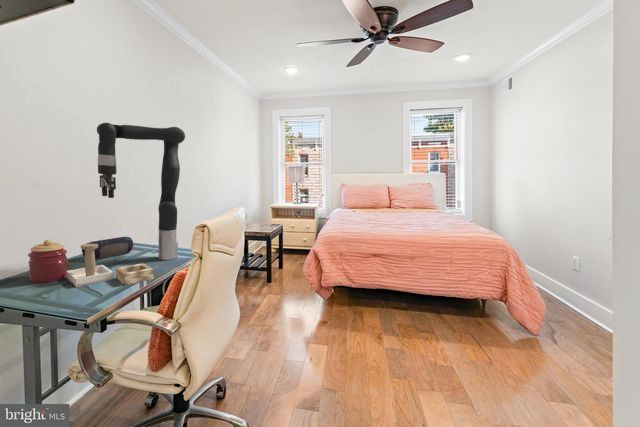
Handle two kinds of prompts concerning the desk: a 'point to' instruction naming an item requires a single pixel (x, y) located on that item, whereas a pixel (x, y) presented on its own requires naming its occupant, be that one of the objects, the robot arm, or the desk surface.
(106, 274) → the tray
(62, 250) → the canister
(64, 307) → the desk surface
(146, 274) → the socket block
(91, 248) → the handle
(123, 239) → the portable speaker
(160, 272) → the desk surface
